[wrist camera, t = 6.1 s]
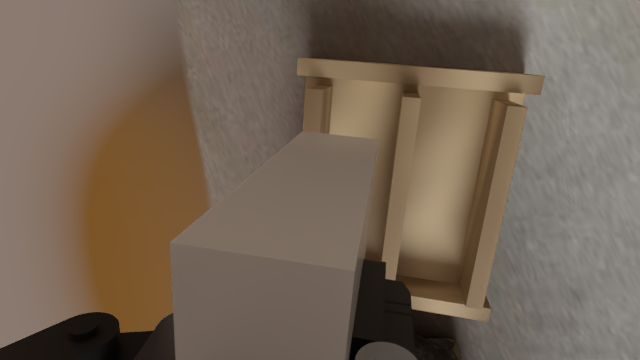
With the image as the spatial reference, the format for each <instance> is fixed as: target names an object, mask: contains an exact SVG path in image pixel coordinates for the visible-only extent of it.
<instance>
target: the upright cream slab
mask: <svg viewBox="0 0 640 360" xmlns="http://www.w3.org/2000/svg"><path fill="white" fill-rule="evenodd" d="M378 141H379V139H371V138H361V137H352V136H342V135H333V134H323V133H314V132H304V131H302V132H301V133H300V134H299V135H298V136H296V137H295V138H294V139H293V140H292V141H290V142H289V143H288V144H287V145H286V146H284V147H283V148H282V149H281V150H280V151H278V152H277V153H276V154H275V155H274V156H273V157H271V158H270V159H269V160H268V161H267V162H265V163H264V164H263V165H262V166H261V167H259V168H258V169H257V170H256V171H255V172H253V173H252V174H251V175H250V176H249V177H247V178H246V179H245V180H244V181H243V182H241V183H240V184H239V185H238V186H237V187H236V188H234V189H233V190H232V191H231V192H230V193H228V194H227V195H226V196H225V197H224V198H222V199H221V200H220V201H219V202H218V203H216V204H215V205H214V206H213V207H212V208H210V209H209V210H208V211H207V212H206V213H205V214H203V215H202V216H201V217H200V218H199V219H197V220H196V221H195V222H194V223H193V224H191V225H190V226H189V227H188V228H187V229H185V230H184V231H183V232H182V233H181V234H179V236H177V237H176V238H175V239H173V240H172V241H171V242H170V257H171V275H172V298H173V318H174V338H175V358H176V360H349V358H350V349H351V341H352V333H353V326H354V320H355V313H356V306H357V300H358V293H359V286H360V280H361V273H362V266H363V260H364V259H365V251H366V243H367V234H368V226H369V217H370V209H371V200H372V192H373V183H374V175H375V167H376V158H377V150H378Z"/></svg>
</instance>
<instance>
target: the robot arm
mask: <svg viewBox="0 0 640 360" xmlns="http://www.w3.org/2000/svg"><path fill="white" fill-rule="evenodd" d="M385 278H386V262H383V261H377V260H370V259H364V260H363V266H362V273H361V280H360V286H359V293H358V300H357V306H356V313H355V320H354V326H353V333H352V341H351V349H350V358H349V360H417V359H416V357H415V348H414V333H413V319H412V307H411V293H410V291H409V290H408V288H407V287H406V286H405V284H404V283H403V282H402V281H396V280H389V279H385ZM0 360H176V358H175V338H174V318H173V313H172V314H170V315H168V316H166V317H165V318H163V319H162V320H161V321H160V322H159V324H158V325H157V326H156V328H155V330H154V331H147V332H146V331H145V332H127V333H120V328H119V322H118V319H116V318H115V317H114V316H113V315H111V314H108V313H101V312H93V313H86V314H81V315H78V316H75V317H72V318H69V319H67V320H65V321H62V322H60V323H58V324H56V325H53V326H51V327H49V328H46V329H44V330H42V331H39V332H37V333H35V334H33V335H30V336H28V337H26V338H24V339H21V340H19V341H17V342H15V343H12V344H10V345H8V346H5V347H3V348H1V349H0Z"/></svg>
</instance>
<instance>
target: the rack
mask: <svg viewBox="0 0 640 360" xmlns="http://www.w3.org/2000/svg"><path fill="white" fill-rule="evenodd" d="M297 75H302V76H306V79H305V97H304V115H303V131H304V132H314V133H323V134H333V135H342V136H352V137H361V138H371V139H379V141H378V150H377V158H376V167H375V175H374V183H373V192H372V200H371V209H370V217H369V226H368V234H367V243H366V251H365V259H370V260H377V261H383V262H386V278H385V279H389V280H396V281H402V282H403V283H404V284H405V286H406V287H407V288H408V290H409V291H410V293H411V307H412V309H414V310H420V311H426V312H432V313H438V314H444V315H450V316H456V317H462V318H468V319H474V320H480V321H486V322H488V319H489V315H490V311H491V308H490V305H489V302H488V300H487V297H486V292H487V287H488V283H489V278H490V274H491V269H492V265H493V261H494V256H495V252H496V247H497V243H498V238H499V234H500V229H501V225H502V220H503V216H504V211H505V207H506V202H507V198H508V194H509V189H510V185H511V180H512V176H513V171H514V167H515V162H516V158H517V153H518V149H519V144H520V140H521V135H522V131H523V127H524V122H525V118H526V113H527V109H528V108H527V107H525V106H524V102H525V97H526V94H534V95H540V94H541V90H542V86H543V81H544V77H545V76H539V75H531V74H523V73H510V72H496V71H483V70H469V69H456V68H442V67H429V66H415V65H402V64H389V63H375V62H362V61H348V60H335V59H321V58H298V59H297Z"/></svg>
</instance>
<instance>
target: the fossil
mask: <svg viewBox="0 0 640 360" xmlns="http://www.w3.org/2000/svg"><path fill="white" fill-rule="evenodd" d="M414 348H415V357H416V359H417V360H461V356H460V350H459V348H458V346H457V345H456V343H455V340H452V339H441V338H439V339H432V338H429V339H425V338H423V337H421V336H419V335H418V334H417V333H414Z"/></svg>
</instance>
